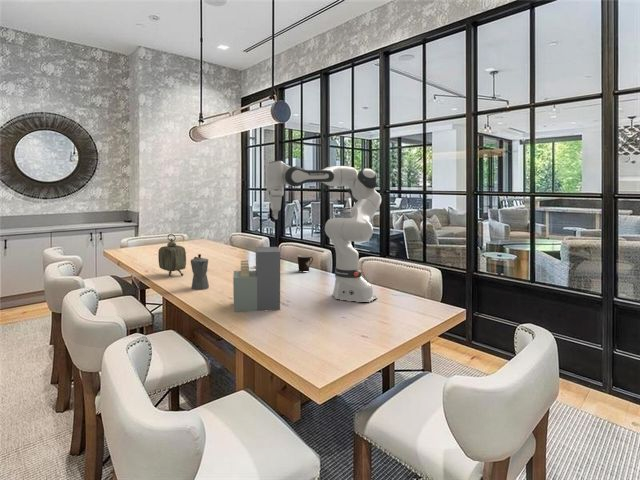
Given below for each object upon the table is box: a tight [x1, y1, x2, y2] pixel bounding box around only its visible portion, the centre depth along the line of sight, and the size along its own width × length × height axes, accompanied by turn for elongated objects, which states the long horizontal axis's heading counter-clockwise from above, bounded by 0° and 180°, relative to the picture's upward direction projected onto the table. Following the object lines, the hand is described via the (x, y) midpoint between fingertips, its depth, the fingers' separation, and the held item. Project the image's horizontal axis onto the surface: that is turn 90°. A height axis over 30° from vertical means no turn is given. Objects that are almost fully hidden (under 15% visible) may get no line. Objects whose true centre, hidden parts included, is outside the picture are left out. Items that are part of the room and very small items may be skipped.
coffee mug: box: [297, 254, 314, 272], centre depth 256 cm, size 12×9×10 cm
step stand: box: [232, 246, 281, 313], centre depth 179 cm, size 14×20×26 cm
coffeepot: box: [190, 253, 210, 291], centre depth 211 cm, size 15×9×18 cm, turn 34°
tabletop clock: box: [157, 233, 187, 277], centre depth 236 cm, size 14×9×25 cm, turn 58°
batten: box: [240, 259, 250, 277], centre depth 183 cm, size 20×4×4 cm, turn 11°
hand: (275, 218), depth 211 cm, fingers open, 8 cm apart
